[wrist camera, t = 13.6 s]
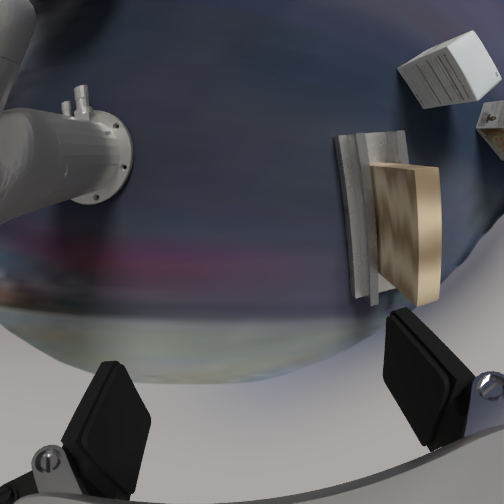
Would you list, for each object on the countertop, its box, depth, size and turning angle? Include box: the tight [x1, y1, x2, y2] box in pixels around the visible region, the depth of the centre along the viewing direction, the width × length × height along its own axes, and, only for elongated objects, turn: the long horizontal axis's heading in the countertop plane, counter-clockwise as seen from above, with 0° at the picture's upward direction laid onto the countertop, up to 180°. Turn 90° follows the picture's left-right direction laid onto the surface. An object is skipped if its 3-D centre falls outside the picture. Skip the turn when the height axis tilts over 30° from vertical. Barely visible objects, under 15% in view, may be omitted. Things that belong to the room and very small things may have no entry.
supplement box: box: [397, 30, 502, 109], centre depth 28 cm, size 7×7×13 cm
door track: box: [334, 130, 409, 306], centre depth 37 cm, size 22×9×5 cm, turn 10°
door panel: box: [370, 163, 442, 307], centre depth 32 cm, size 14×3×12 cm, turn 11°
